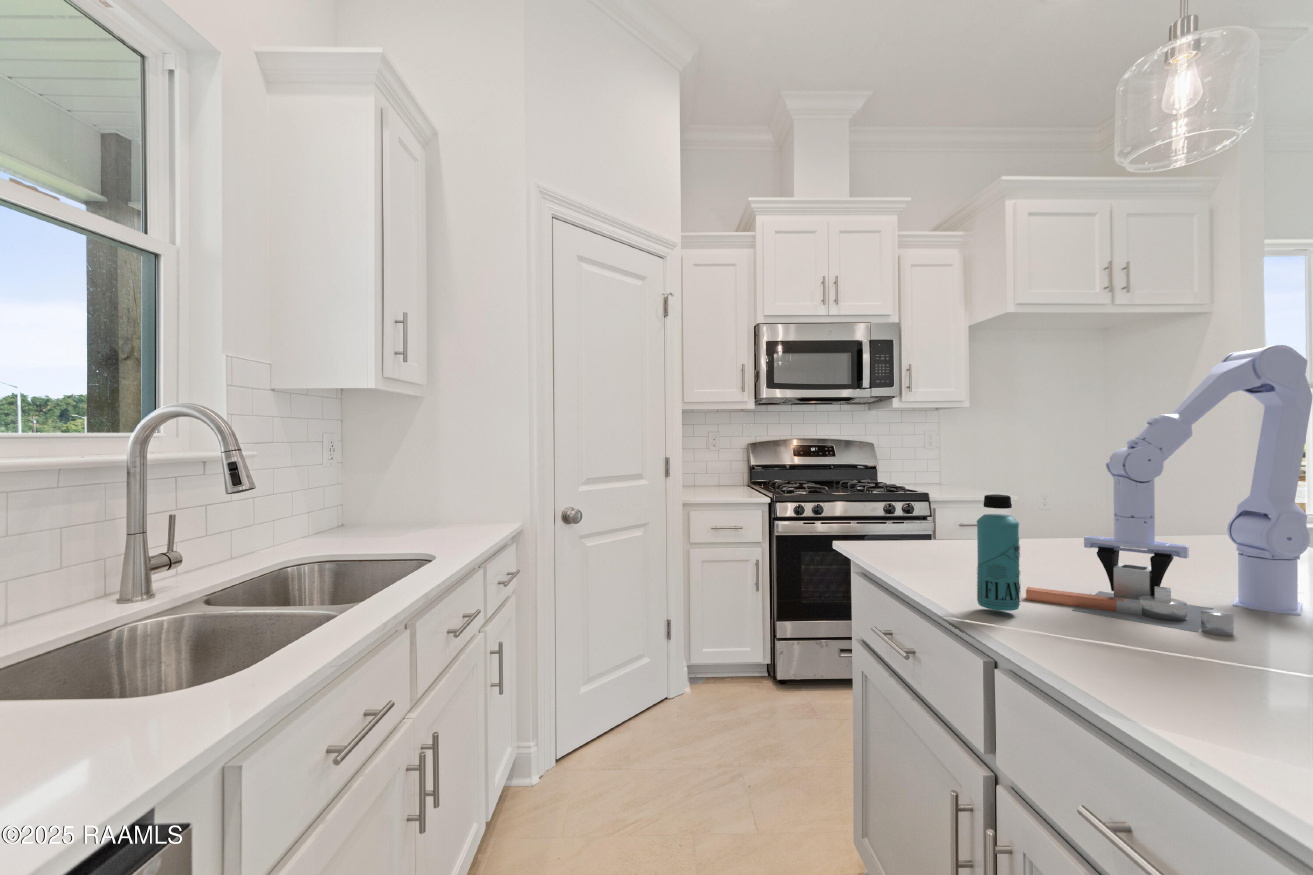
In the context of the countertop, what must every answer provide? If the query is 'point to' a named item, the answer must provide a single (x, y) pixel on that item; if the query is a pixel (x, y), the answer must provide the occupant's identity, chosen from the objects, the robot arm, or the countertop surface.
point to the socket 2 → (1217, 623)
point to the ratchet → (1118, 603)
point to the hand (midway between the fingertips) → (1134, 593)
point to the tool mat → (1189, 625)
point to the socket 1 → (1132, 581)
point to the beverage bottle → (998, 557)
